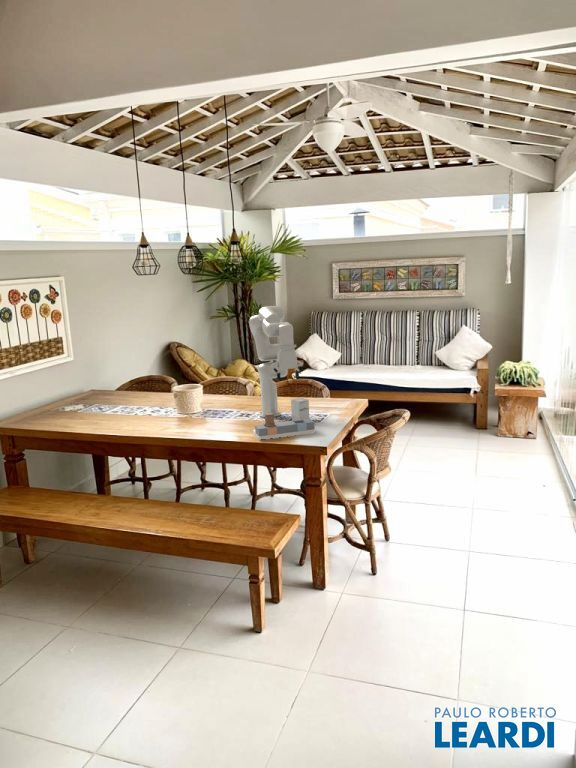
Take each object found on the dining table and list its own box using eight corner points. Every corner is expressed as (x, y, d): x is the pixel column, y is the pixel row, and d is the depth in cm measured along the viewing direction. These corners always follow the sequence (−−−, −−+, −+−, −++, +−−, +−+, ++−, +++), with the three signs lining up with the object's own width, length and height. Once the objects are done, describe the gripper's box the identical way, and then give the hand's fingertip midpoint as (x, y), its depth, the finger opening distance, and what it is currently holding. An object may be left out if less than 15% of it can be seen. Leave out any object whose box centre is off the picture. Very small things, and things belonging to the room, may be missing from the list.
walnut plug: (265, 432, 311) (264, 413, 309) (273, 431, 312) (272, 412, 310) (267, 434, 308) (266, 415, 306) (275, 433, 309) (274, 414, 307)
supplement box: (299, 423, 334) (298, 401, 331) (291, 421, 339) (290, 399, 337) (309, 421, 338) (308, 399, 335) (301, 418, 344) (300, 397, 341)
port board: (252, 433, 318) (252, 422, 317) (306, 426, 326) (305, 416, 325) (259, 440, 304) (258, 429, 303) (315, 433, 312) (314, 422, 311)
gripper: (300, 345, 320) (301, 376, 323) (269, 347, 316) (270, 379, 319) (304, 347, 313) (305, 379, 316) (272, 349, 308) (273, 382, 312)
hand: (288, 379), depth 318 cm, fingers open, 9 cm apart
